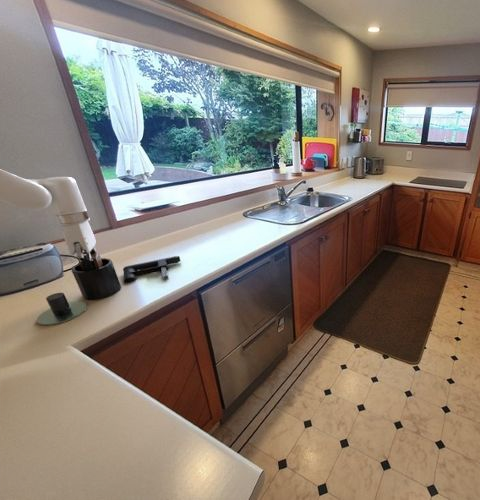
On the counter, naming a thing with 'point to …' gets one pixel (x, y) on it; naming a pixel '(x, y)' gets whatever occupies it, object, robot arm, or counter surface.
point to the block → (95, 260)
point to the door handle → (149, 268)
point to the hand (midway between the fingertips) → (93, 267)
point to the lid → (60, 310)
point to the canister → (97, 281)
